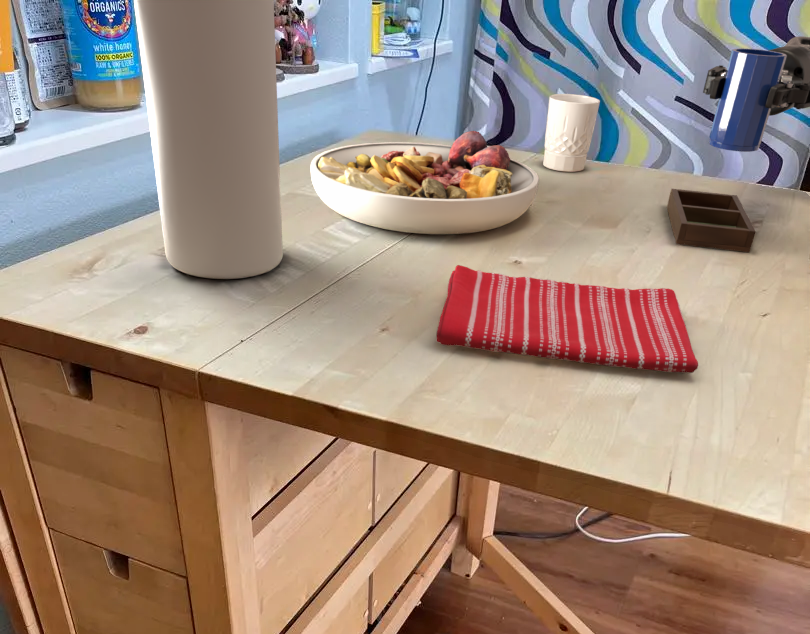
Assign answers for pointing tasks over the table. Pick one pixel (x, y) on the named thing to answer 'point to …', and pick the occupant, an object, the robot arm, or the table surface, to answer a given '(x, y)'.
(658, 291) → the dish towel
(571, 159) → the white cup
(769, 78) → the cup
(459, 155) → the bowl
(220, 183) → the cylinder vase
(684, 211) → the holder
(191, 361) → the table surface
